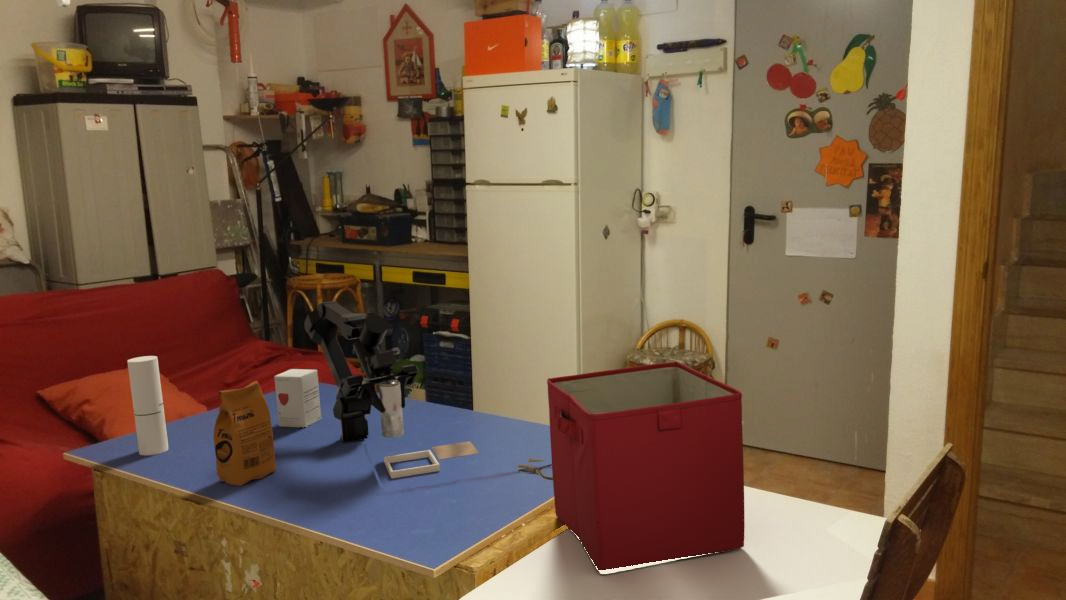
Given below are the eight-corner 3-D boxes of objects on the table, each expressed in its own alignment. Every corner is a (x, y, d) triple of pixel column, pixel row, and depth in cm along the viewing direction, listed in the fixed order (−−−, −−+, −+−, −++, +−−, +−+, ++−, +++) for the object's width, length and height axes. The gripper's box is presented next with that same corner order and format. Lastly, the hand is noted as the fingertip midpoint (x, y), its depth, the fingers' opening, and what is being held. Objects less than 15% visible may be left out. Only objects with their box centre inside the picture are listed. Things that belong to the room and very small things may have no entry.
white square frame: (391, 482, 187) (390, 472, 187) (384, 466, 198) (383, 456, 198) (440, 474, 191) (439, 464, 190) (430, 459, 201) (430, 449, 201)
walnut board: (439, 463, 198) (439, 459, 198) (431, 450, 208) (431, 447, 208) (479, 457, 201) (479, 453, 201) (469, 445, 211) (469, 441, 211)
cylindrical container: (173, 446, 223) (162, 355, 219) (159, 455, 215) (147, 361, 212) (148, 446, 223) (137, 356, 219) (133, 455, 216) (121, 362, 212)
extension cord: (549, 457, 200) (549, 449, 200) (599, 471, 189) (599, 463, 189) (513, 472, 192) (512, 463, 191) (563, 487, 181) (562, 478, 180)
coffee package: (211, 481, 194) (201, 390, 191) (256, 464, 204) (247, 378, 201) (236, 488, 189) (226, 395, 185) (282, 471, 198) (273, 382, 195)
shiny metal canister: (379, 438, 198) (375, 385, 196) (385, 431, 204) (381, 379, 201) (400, 437, 198) (396, 385, 196) (406, 430, 203) (402, 379, 201)
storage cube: (589, 581, 138) (581, 414, 133) (543, 518, 164) (536, 376, 160) (761, 549, 146) (759, 391, 142) (691, 494, 172) (688, 358, 168)
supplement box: (277, 427, 235) (272, 375, 233) (295, 417, 244) (290, 368, 242) (305, 428, 233) (300, 376, 230) (322, 418, 241) (317, 368, 239)
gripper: (342, 344, 195) (365, 399, 188) (413, 332, 206) (437, 383, 198) (332, 371, 202) (354, 424, 195) (401, 358, 213) (424, 408, 206)
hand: (393, 409), depth 199 cm, fingers closed on shiny metal canister, 5 cm apart
